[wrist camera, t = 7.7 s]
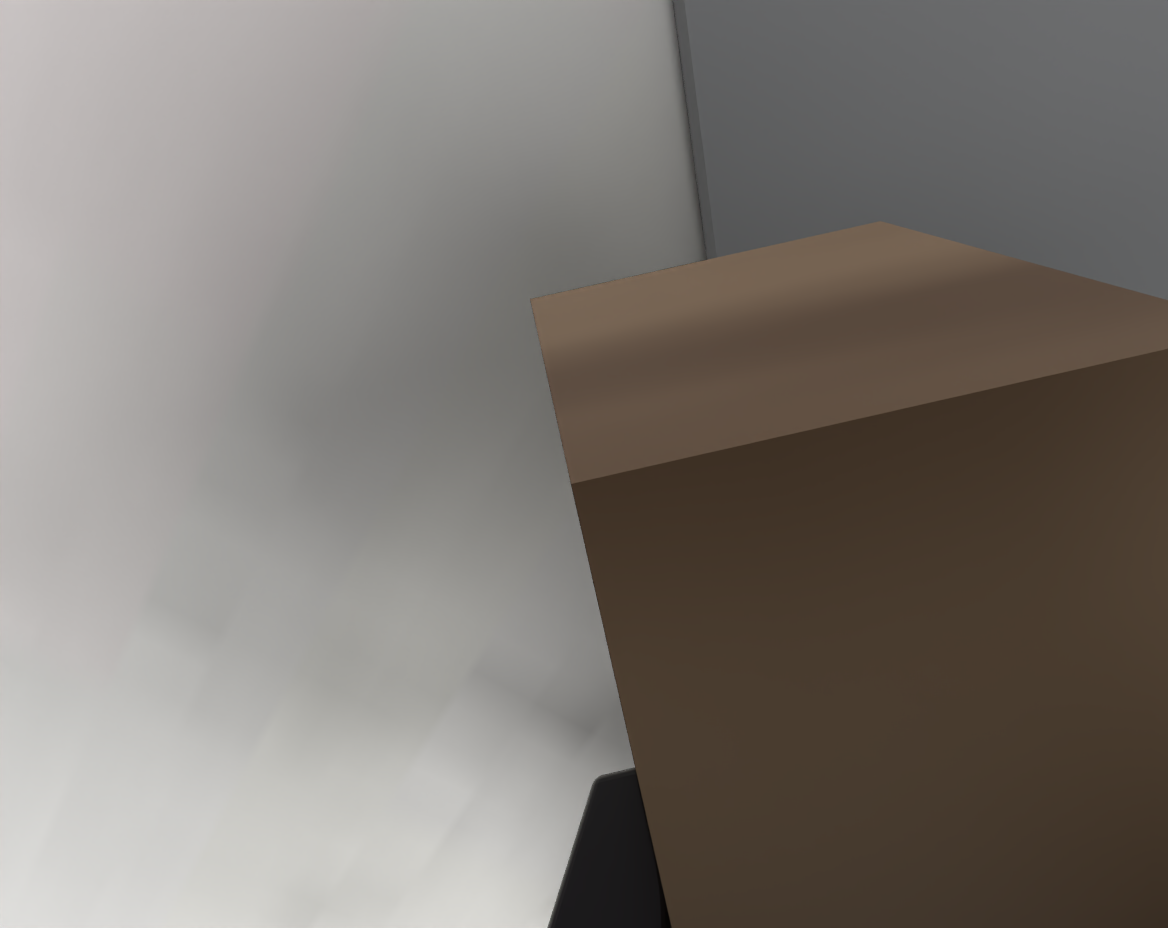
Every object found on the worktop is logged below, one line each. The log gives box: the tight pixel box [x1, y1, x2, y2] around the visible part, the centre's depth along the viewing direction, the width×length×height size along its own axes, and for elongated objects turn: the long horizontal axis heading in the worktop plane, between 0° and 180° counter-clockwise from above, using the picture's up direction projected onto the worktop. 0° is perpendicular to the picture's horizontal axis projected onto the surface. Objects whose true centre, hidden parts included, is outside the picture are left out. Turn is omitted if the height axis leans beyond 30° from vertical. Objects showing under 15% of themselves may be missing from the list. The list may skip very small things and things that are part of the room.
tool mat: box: [673, 0, 1168, 300], centre depth 18 cm, size 9×23×1 cm, turn 11°
